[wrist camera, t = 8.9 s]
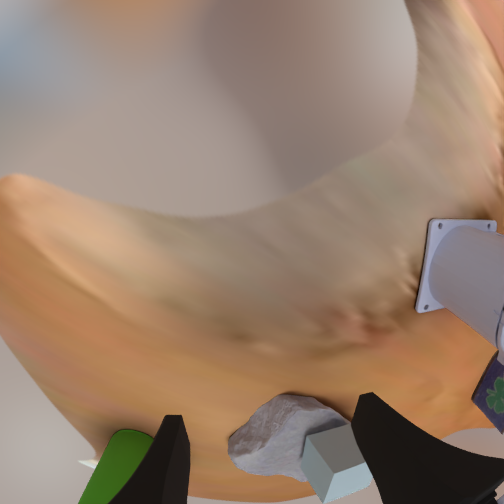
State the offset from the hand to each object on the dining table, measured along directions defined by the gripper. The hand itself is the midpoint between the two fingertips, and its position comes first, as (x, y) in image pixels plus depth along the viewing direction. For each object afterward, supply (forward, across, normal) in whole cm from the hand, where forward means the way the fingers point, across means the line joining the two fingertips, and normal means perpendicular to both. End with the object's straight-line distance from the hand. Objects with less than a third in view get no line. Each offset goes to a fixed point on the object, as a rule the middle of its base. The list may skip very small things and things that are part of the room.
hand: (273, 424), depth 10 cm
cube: (+7, -6, +14) cm, 16 cm away
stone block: (+11, -5, +15) cm, 19 cm away
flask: (+11, -33, +16) cm, 38 cm away
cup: (+11, +12, +16) cm, 23 cm away
